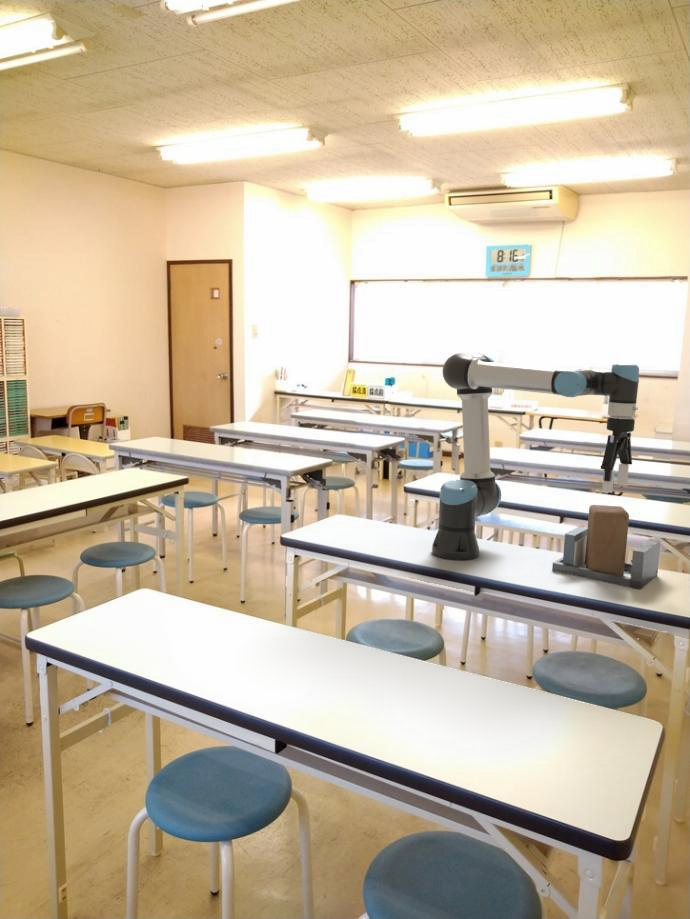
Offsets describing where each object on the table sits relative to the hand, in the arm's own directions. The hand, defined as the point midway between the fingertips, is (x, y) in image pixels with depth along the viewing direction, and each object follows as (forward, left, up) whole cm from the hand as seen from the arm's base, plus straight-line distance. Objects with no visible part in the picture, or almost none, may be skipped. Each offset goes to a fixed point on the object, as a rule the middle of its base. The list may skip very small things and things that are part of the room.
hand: (614, 488), depth 213 cm
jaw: (-10, 0, -26) cm, 28 cm away
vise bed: (-1, 0, -26) cm, 26 cm away
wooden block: (-1, 0, -26) cm, 26 cm away
